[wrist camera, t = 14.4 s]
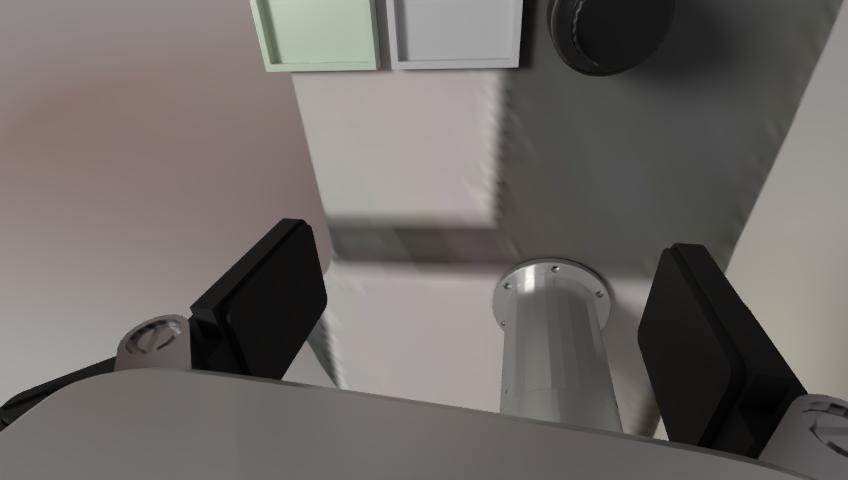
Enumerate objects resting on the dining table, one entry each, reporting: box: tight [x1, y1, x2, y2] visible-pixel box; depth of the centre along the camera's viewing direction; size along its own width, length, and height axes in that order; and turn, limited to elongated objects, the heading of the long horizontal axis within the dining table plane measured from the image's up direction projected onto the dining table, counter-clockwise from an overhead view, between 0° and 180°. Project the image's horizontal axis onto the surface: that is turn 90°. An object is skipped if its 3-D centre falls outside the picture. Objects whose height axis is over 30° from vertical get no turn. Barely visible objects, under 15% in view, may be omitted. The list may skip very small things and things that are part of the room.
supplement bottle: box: [547, 0, 675, 77], centre depth 26 cm, size 7×7×12 cm
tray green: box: [250, 0, 381, 72], centre depth 34 cm, size 11×11×2 cm
